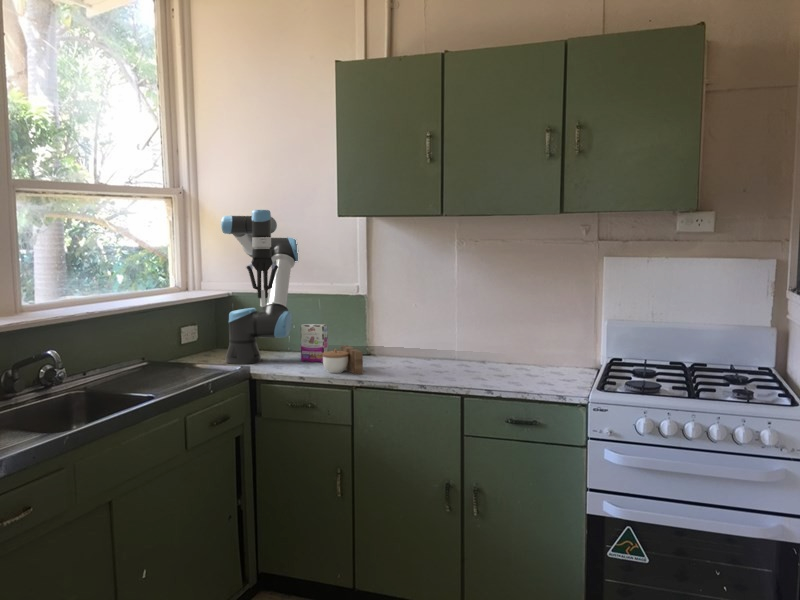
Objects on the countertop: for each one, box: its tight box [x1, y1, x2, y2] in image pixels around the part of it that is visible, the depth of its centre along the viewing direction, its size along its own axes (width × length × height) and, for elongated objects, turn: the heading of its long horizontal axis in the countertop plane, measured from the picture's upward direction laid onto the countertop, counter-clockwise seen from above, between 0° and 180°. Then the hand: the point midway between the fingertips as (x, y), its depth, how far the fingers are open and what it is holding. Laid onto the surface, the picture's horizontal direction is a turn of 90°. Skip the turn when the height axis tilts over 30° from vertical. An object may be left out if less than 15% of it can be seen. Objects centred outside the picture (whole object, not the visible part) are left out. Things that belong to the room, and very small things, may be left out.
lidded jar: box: [322, 348, 349, 374], centre depth 263 cm, size 11×11×9 cm
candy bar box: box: [300, 323, 329, 363], centre depth 287 cm, size 11×5×16 cm, turn 73°
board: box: [340, 344, 364, 375], centre depth 266 cm, size 18×3×9 cm, turn 24°
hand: (262, 306), depth 264 cm, fingers closed
